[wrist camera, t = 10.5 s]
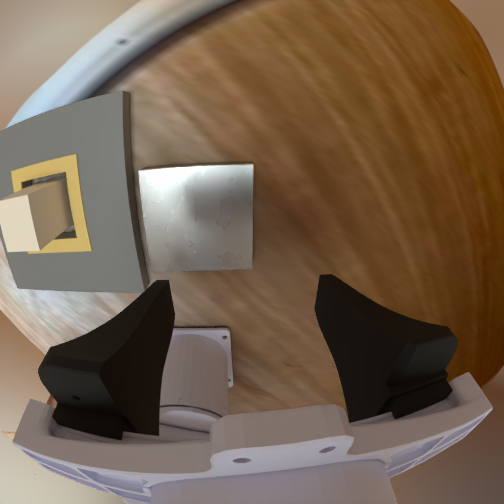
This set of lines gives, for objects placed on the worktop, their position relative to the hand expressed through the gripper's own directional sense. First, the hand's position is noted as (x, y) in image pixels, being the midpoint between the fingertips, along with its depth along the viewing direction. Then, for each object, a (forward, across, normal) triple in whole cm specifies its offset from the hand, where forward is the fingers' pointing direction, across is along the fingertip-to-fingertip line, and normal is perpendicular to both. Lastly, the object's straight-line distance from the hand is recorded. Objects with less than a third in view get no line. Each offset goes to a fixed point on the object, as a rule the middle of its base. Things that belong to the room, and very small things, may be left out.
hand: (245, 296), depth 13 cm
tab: (+9, +3, -1) cm, 10 cm away
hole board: (+9, +16, -3) cm, 19 cm away
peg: (+10, +16, -3) cm, 19 cm away
